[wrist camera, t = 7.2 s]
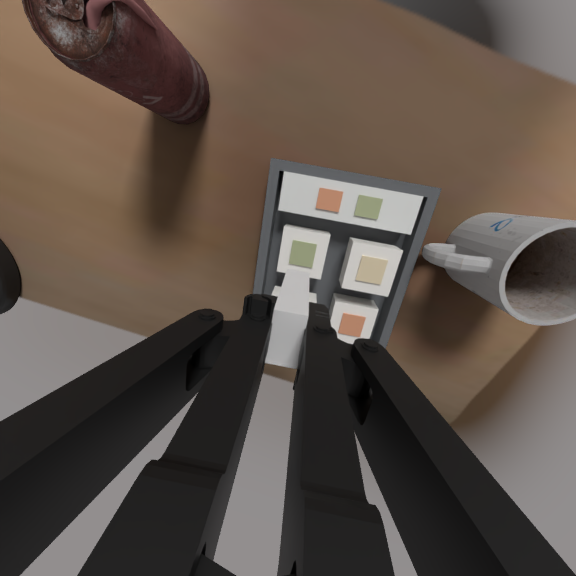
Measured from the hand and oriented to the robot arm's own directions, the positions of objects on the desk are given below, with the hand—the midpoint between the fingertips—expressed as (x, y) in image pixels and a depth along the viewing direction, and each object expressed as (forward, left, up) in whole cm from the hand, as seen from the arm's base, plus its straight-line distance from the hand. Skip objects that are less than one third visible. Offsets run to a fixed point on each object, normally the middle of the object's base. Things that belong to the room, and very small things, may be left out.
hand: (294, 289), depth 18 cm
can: (-15, +14, -16) cm, 26 cm away
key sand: (+7, 0, -13) cm, 15 cm away
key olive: (0, 0, -15) cm, 15 cm away
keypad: (+4, -1, -15) cm, 16 cm away
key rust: (+7, -7, -15) cm, 18 cm away
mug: (+19, +3, -16) cm, 24 cm away
